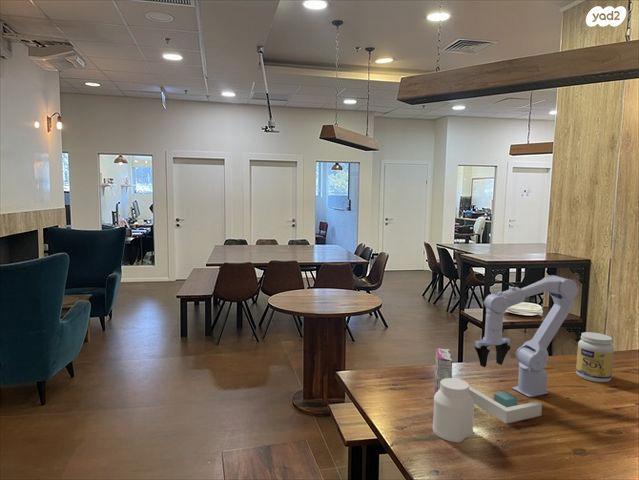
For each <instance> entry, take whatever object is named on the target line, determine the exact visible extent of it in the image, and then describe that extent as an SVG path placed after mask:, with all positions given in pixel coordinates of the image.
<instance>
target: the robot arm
mask: <svg viewBox="0 0 639 480" xmlns="http://www.w3.org/2000/svg"><path fill="white" fill-rule="evenodd" d="M546 292H547V293H548V294H549V295H550V296H551V299H552V301H553V305H552V307H551V308H550V310H549V311H548V313H547V315H545V317H544V320H543V321H542V323H541V324H540V325H539V327H538V329H537V331H536V332H535V334H534V335H533V336H532V339H530V340H527V341H524V343H523V345H521V346H520V347H518V348H517V350H516V352H515V358H516V360H517V361H518V378H517V385H516V386H512V389H513V390H514V391H517V392H518V393H520V394H523V395H524V396H526V397H528V398H533V397H537V396H543V395H546V394H547V395H548V394H549V392H548V391H547V386H548V385H547V384H548V373H547V370H546V369H545V367H546V365H547V360H548V358H549V356H550V355H549V352H548V350H547V349H548V347H549V345H550V343H551V342H552V340H553V339H554V337H555V335H556V334H557V333H558V331H559V329H560V328H561V326H562V324H563V323H564V321H565V320H566V318H567V316H568V315H569V314H570V312H571V311H572V308H573V307H574V301H575V297H577V294H578V293H579V289H578V286H577V283H576V282H575V281H574V280H573V279H569V278H564V277H560V276H558V275H555V274H554V275H553V274H551V275H549V276H545V277H543V278H542V279H540V280H537V281H535V282H534V283H531V284H529V285H526V286H524V287H521V288H520V287H517V286H515V287H514V286H510V287H509V289H507V290H504V291H498V292H497V294H494V293H490V294H488V295H487V296H486V297H485V299H484V300H483V301H482V302H483V306H484V307H485V312H486V313H485V323H484V324H485V326H484V336H483V337H482V339H480V340H475V341H474V349H475V351H476V354H477V357H478V360H479V365H480V366H481V367H483V368H486V366H487V365H488V364H487V362H488V358H489V354H490V351H491V350H490V349H488V348H487V347H493V346H494V347H495V353H496V356H495V361H496V364H498V365H503V363H504V360H505V358H506V355H507V354H508V353H509V351H510V350H511V338H508V337H503V326H504V325H503V323H504V322H503V321H504V313H505V312H506V311H507V310H508V308H510V307H513V306H516V305H519V304H522V303H524V301H525V299H526V298H528V297H531V296H536V295H539V294H541V293H546Z"/></svg>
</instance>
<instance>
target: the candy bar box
mask: <svg viewBox="0 0 639 480" xmlns="http://www.w3.org/2000/svg"><path fill="white" fill-rule="evenodd" d="M452 358H453V357H452V354H451V350H450V349H449V348H440V347H437V348H435V368H434V369H435V371H434V375H435V377H434V395H435V394H436V392H437V391H438V390H439V389H440V381H441V380H442V379H446V378H453V376H452V374H453V359H452Z"/></svg>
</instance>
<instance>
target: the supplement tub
mask: <svg viewBox="0 0 639 480" xmlns="http://www.w3.org/2000/svg"><path fill="white" fill-rule="evenodd" d="M612 343H613V338H612V337H611V336H610V335H606V334H604V333H598V332H594V331H593V332H590V331H585V332H581V335H580V340H579V341H578V342H577V352H576V353H577V354H576V363H575V364H576V365H575V366H576V367H575V373H576V374H577V376H579V377H580V378H581V379H585V380H587V381H590V382H595V383H608V382H609V381H611V380H612V377H613V367H614V366H613V365H614V356H615V355H614V353H615V348H614V345H613V344H612Z"/></svg>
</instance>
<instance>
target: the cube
mask: <svg viewBox="0 0 639 480" xmlns="http://www.w3.org/2000/svg"><path fill="white" fill-rule="evenodd" d="M493 400H494V401H496V402H498V403H500V404H501V405H503V406H505V407H511V406H516V405H518V396H515V395H513V394H512V393H509V392H508V391H506V390H505V391H500V392H496V393H494V395H493Z"/></svg>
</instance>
